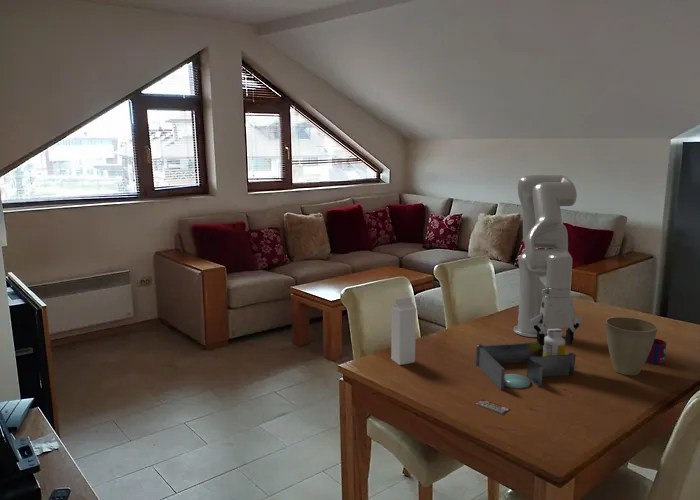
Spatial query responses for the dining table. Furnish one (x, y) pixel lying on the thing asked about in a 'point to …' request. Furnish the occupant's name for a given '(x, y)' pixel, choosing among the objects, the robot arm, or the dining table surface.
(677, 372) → the dining table surface
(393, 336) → the milk
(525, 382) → the pad
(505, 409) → the chocolate bar
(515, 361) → the gray wall barrier
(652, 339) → the plant pot
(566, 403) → the dining table surface
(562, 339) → the supplement bottle
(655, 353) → the mug
